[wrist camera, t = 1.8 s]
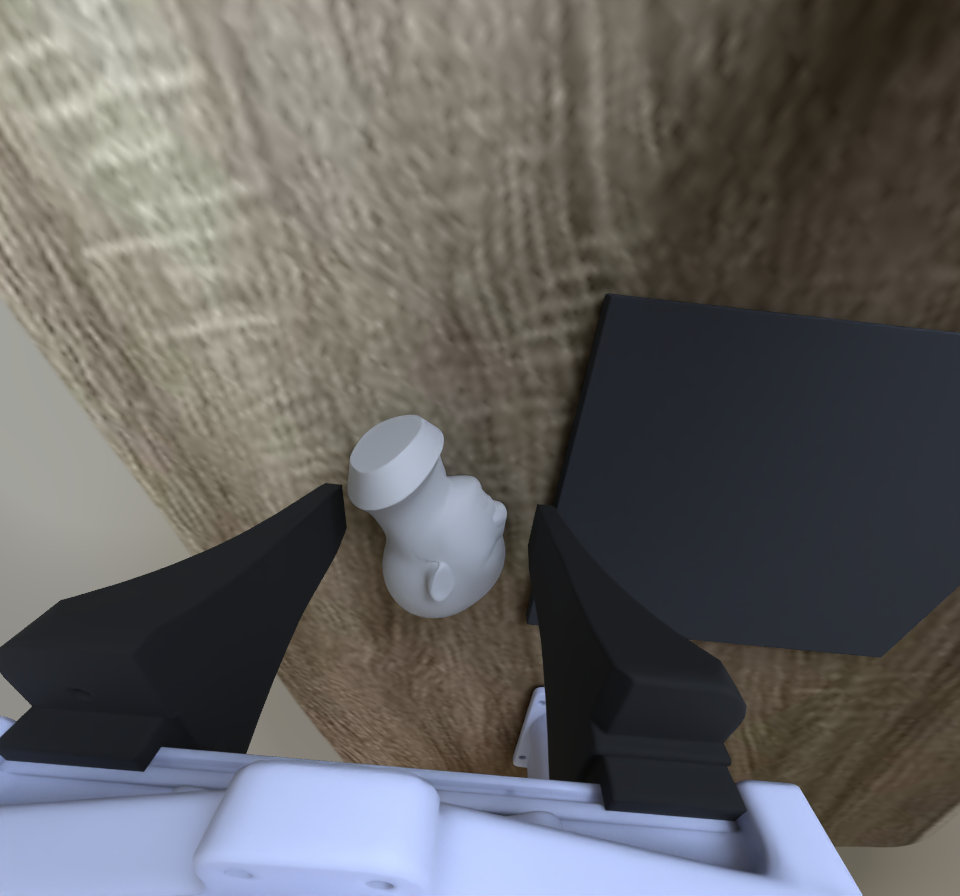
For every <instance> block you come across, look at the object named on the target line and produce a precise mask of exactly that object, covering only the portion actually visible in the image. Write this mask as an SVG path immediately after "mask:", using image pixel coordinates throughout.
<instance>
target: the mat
mask: <svg viewBox="0 0 960 896" xmlns="http://www.w3.org/2000/svg"><path fill="white" fill-rule="evenodd" d="M553 506H554V507H555V508H556V510H557V511H558V513H559V514H560V515H561V517H562V518H563V520H564V521H565V522H566V524H567V525H568V527H569V528H570V529H571V531H572V532H573V533H574V535H575V536H576V537H577V539H578V540H579V541H580V542H581V544H582V545H583V546H584V548H585V549H586V550H587V551H588V553H589V554H590V555H591V556H592V557H593V558H594V559H595V561H596V562H597V563H598V564H599V565H600V566H601V567H602V568H603V569H604V570H605V572H606V573H607V574H608V575H609V576H610V577H611V578H612V579H613V580H615V581H616V582H617V583H618V584H619V585H620V586H621V587H622V588H623V589H624V590H625V591H626V592H627V593H628V594H629V595H631V596H632V597H633V598H634V599H635V600H636V601H638V602H639V603H640V604H641V605H642V606H643V607H645V608H646V609H647V610H648V611H649V612H651V613H652V614H653V615H655V616H656V617H657V618H658V619H660V620H661V621H662V622H664V623H665V624H666V625H668V626H669V627H671V628H672V629H673V630H675V631H676V632H677V633H679V634H680V635H682V636H683V637H685V638H686V639H690V640H701V641H712V642H722V643H733V644H743V645H754V646H765V647H775V648H786V649H796V650H807V651H817V652H828V653H839V654H849V655H860V656H870V657H882V656H883V655H884V654H885V653H886V652H887V651H889V650H890V649H891V648H892V647H893V646H894V645H895V644H896V643H897V642H898V641H899V640H901V639H902V638H903V637H904V636H905V635H906V634H907V633H908V632H909V631H910V630H911V629H913V628H914V627H915V626H916V625H917V624H918V623H919V622H920V621H921V620H922V619H923V618H925V617H926V616H927V615H928V614H929V613H930V612H931V611H932V610H933V609H934V608H935V607H937V606H938V605H939V604H940V603H941V602H942V601H943V600H944V599H945V598H946V597H947V596H949V595H950V594H951V593H952V592H953V591H954V590H955V589H956V588H957V587H958V586H959V585H960V333H956V332H947V331H938V330H929V329H920V328H912V327H903V326H894V325H885V324H876V323H867V322H858V321H849V320H840V319H831V318H822V317H813V316H804V315H795V314H786V313H778V312H769V311H760V310H751V309H742V308H733V307H724V306H715V305H706V304H697V303H688V302H679V301H670V300H661V299H652V298H644V297H635V296H626V295H617V294H606V295H605V298H604V302H603V306H602V310H601V314H600V318H599V322H598V326H597V330H596V334H595V338H594V342H593V346H592V350H591V354H590V358H589V362H588V366H587V370H586V374H585V378H584V382H583V386H582V391H581V395H580V399H579V403H578V407H577V411H576V415H575V419H574V423H573V427H572V431H571V435H570V439H569V443H568V447H567V451H566V455H565V459H564V463H563V467H562V471H561V475H560V479H559V483H558V487H557V491H556V495H555V499H554V503H553ZM526 620H527V624H531V625H539V623H538V618H537V612H536V607H535V601H534V595H533V590H532V592H531V596H530V600H529V604H528V608H527V612H526Z"/></svg>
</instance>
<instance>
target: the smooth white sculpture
mask: <svg viewBox="0 0 960 896" xmlns="http://www.w3.org/2000/svg"><path fill="white" fill-rule="evenodd" d="M443 444H444V437H443V434H442V432H441V431H440V430H439V429H438V428H437V427H435V426H434V425H432V424H430V423H429V422H427V421H426V420H424V419H423V418H421V417H419V416H417V415H403V416H398V417H394V418H391V419H388V420H385V421H383V422H381V423H379V424H377V425H376V426H374V427H373V428H371V429H370V430H369V431H368V432H366V433H365V434H364V436H363V437H362V438H361V439H360V441H359V442H358V443H357V445H356V446H355V448H354V450H353V452H352V454H351V457H350V464H349V474H348V484H347V494H348V497H349V499H350V501H351V502H352V503H353V504H354V505H355V506H356V507H357V508H359V509H362V510H364V511H367V512H368V513H369V514H371V515H372V516H373V517H374V519H375V520H376V521H377V522H378V523H379V525H380V526H381V528H382V529H383V531H384V533H385V535H386V545H385V549H384V554H383V562H382V568H383V577H384V581H385V584H386V587H387V589H388V591H389V593H390V594H391V596H392V597H393V599H394V600H395V601H396V602H397V603H398V604H399V605H400V606H401V607H402V608H403V609H405V610H406V611H408V612H410V613H412V614H414V615H417V616H420V617H425V618H442V617H447V616H451V615H454V614H457V613H459V612H461V611H463V610H465V609H467V608H468V607H470V606H471V605H473V604H474V603H476V602H477V601H478V600H479V599H481V598H482V597H483V596H484V595H485V594H486V593H487V592H488V591H489V590H490V589H491V588H492V587H493V585H494V584H495V583H496V581H497V579H498V578H499V576H500V574H501V571H502V569H503V565H504V561H505V544H504V539H503V532H504V527H505V521H506V518H507V511H506V508H505V506H504V505H503V504H502V503H501V502H499V501H495V500H492V499H491V497H490V496H489V495H487V494H486V493H485V492H484V491H483V490H482V487H481V484H480V482H479V481H478V480H477V479H476V478H475V477H473V476H469V475H458V476H446V472H445V468H444V466H443V463H442V460H441V457H440V454H441V451H442V448H443Z"/></svg>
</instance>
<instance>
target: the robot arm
mask: <svg viewBox="0 0 960 896" xmlns="http://www.w3.org/2000/svg"><path fill="white" fill-rule="evenodd" d="M346 529H347V526H346V517H345V508H344V499H343V490H342V485H338V484H328V483H325V484H323V485H321V486H320V487H318V488H316V489H315V490H313V491H312V492H310V493H309V494H307V495H305V496H304V497H302V498H301V499H299V500H298V501H296V502H294V503H293V504H291V505H290V506H288V507H287V508H285V509H283V510H282V511H280V512H279V513H277V514H275V515H274V516H272V517H270V518H268V519H267V520H265V521H263V522H261V523H260V524H258V525H256V526H254V527H253V528H251V529H249V530H247V531H245V532H244V533H242V534H240V535H238V536H236V537H234V538H232V539H230V540H228V541H226V542H224V543H222V544H219V545H217V546H215V547H213V548H211V549H209V550H206V551H204V552H202V553H199V554H197V555H194V556H192V557H190V558H187V559H185V560H182V561H180V562H178V563H175V564H173V565H170V566H167V567H165V568H162V569H160V570H157V571H154V572H151V573H148V574H145V575H142V576H140V577H137V578H134V579H131V580H128V581H125V582H121V583H119V584H115V585H112V586H109V587H105V588H102V589H98V590H95V591H92V592H88V593H85V594H81V595H78V596H75V597H71V598H67V599H64V600H60V601H59V602H58V603H57V604H55V605H54V606H53V607H51V608H50V609H49V610H48V611H46V612H45V613H44V614H42V615H41V616H40V617H39V618H37V619H36V620H35V621H33V622H32V623H31V624H30V625H28V626H27V627H26V628H24V629H23V630H22V631H21V632H19V633H18V634H17V635H15V636H14V637H13V638H12V639H11V640H9V641H8V642H6V643H5V644H4V645H3V646H1V647H0V673H1V674H2V675H3V677H4V678H5V679H6V680H7V681H8V682H9V683H10V684H11V685H12V686H13V687H14V688H15V689H16V690H17V691H18V692H19V693H20V694H21V695H22V696H23V697H24V698H25V699H26V700H27V701H28V702H29V703H30V704H31V705H32V707H31V708H30V709H29V710H28V711H27V712H26V713H25V714H24V715H23V716H22V717H21V718H20V719H19V720H18V721H17V722H16V721H15V720H13V719H10V718H7V717H4V716H0V896H863V895H862V893H861V892H860V890H859V888H858V887H857V885H856V883H855V881H854V880H853V878H852V876H851V875H850V873H849V872H848V870H847V868H846V866H845V865H844V863H843V861H842V859H841V858H840V856H839V854H838V853H837V851H836V849H835V847H834V846H833V844H832V842H831V841H830V839H829V837H828V836H827V834H826V832H825V830H824V829H823V827H822V825H821V824H820V822H819V820H818V819H817V817H816V815H815V813H814V812H813V810H812V808H811V807H810V805H809V803H808V802H807V800H806V798H805V796H804V795H803V793H802V791H801V790H800V788H799V787H798V786H796V785H795V784H792V783H781V782H769V781H757V780H744V781H740V782H737V783H734V781H733V779H732V777H731V775H730V773H729V770H728V768H727V766H730V765H731V758H730V756H729V754H728V752H727V750H726V748H725V746H724V744H723V743H724V742H725V740H726V739H727V738H728V737H729V736H730V735H731V734H732V733H733V732H734V731H735V730H736V728H737V727H738V726H739V725H740V724H741V722H742V721H743V719H744V717H745V714H746V704H745V702H744V700H743V698H742V696H741V695H740V693H739V691H738V689H737V687H736V686H735V684H734V682H733V680H732V679H731V677H730V675H729V674H728V672H727V670H726V669H725V667H724V666H723V664H722V663H721V661H720V660H718V659H717V658H715V657H714V656H712V655H711V654H709V653H708V652H706V651H704V650H703V649H701V648H700V647H698V646H697V645H695V644H694V643H692V642H691V641H689V640H688V639H686V638H685V637H683V636H682V635H680V634H679V633H677V632H676V631H675V630H673V629H672V628H671V627H669V626H668V625H666V624H665V623H664V622H662V621H661V620H660V619H658V618H657V617H656V616H655V615H653V614H652V613H651V612H649V611H648V610H647V609H646V608H645V607H643V606H642V605H641V604H640V603H639V602H638V601H636V600H635V599H634V598H633V597H632V596H631V595H629V594H628V593H627V592H626V591H625V590H624V589H623V588H622V587H621V586H620V585H619V584H618V583H617V582H616V581H615V580H613V579H612V578H611V577H610V576H609V575H608V574H607V573H606V572H605V570H604V569H603V568H602V567H601V566H600V565H599V564H598V563H597V562H596V561H595V559H594V558H593V557H592V556H591V555H590V554H589V553H588V551H587V550H586V549H585V548H584V546H583V545H582V544H581V542H580V541H579V540H578V539H577V537H576V536H575V535H574V533H573V532H572V531H571V529H570V528H569V527H568V525H567V524H566V522H565V521H564V520H563V518H562V517H561V515H560V514H559V513H558V511H557V510H556V508H555V507H554V506H549V505H539V504H537V508H536V512H535V517H534V521H533V526H532V530H531V535H530V539H529V544H528V556H529V572H530V578H531V584H532V590H533V595H534V601H535V607H536V612H537V618H538V623H539V629H540V636H541V645H542V657H543V670H544V685H545V687H539V688H536V689H535V690H534V691H533V694H532V698H531V701H530V704H529V707H528V710H527V713H526V717H525V720H524V723H523V726H522V729H521V733H520V736H519V739H518V742H517V745H516V748H515V752H514V755H513V764H514V765H515V766H517V767H527V772H528V778H520V777H509V776H497V775H485V774H473V773H462V772H450V771H438V770H426V769H415V768H403V767H391V766H379V765H368V764H356V763H344V762H332V761H320V760H308V759H297V758H285V757H273V756H262V755H249V754H246V752H247V750H248V747H249V744H250V742H251V739H252V736H253V733H254V731H255V728H256V725H257V722H258V719H259V717H260V714H261V711H262V709H263V706H264V704H265V701H266V699H267V696H268V694H269V691H270V688H271V685H272V683H273V681H274V678H275V676H276V673H277V671H278V669H279V666H280V664H281V661H282V659H283V657H284V654H285V652H286V649H287V647H288V645H289V643H290V640H291V638H292V636H293V634H294V631H295V629H296V627H297V625H298V622H299V620H300V618H301V616H302V614H303V612H304V610H305V608H306V607H307V605H308V603H309V601H310V600H311V598H312V596H313V594H314V592H315V591H316V589H317V587H318V585H319V584H320V582H321V580H322V578H323V577H324V575H325V573H326V571H327V570H328V568H329V566H330V564H331V562H332V561H333V559H334V557H335V555H336V553H337V551H338V549H339V546H340V544H341V542H342V539H343V536H344V534H345V531H346Z"/></svg>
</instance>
